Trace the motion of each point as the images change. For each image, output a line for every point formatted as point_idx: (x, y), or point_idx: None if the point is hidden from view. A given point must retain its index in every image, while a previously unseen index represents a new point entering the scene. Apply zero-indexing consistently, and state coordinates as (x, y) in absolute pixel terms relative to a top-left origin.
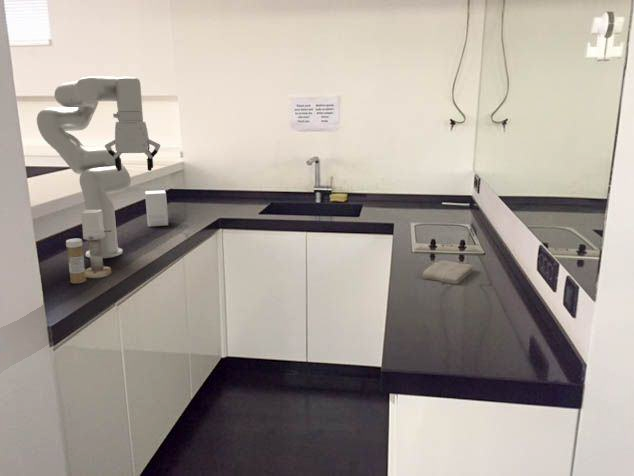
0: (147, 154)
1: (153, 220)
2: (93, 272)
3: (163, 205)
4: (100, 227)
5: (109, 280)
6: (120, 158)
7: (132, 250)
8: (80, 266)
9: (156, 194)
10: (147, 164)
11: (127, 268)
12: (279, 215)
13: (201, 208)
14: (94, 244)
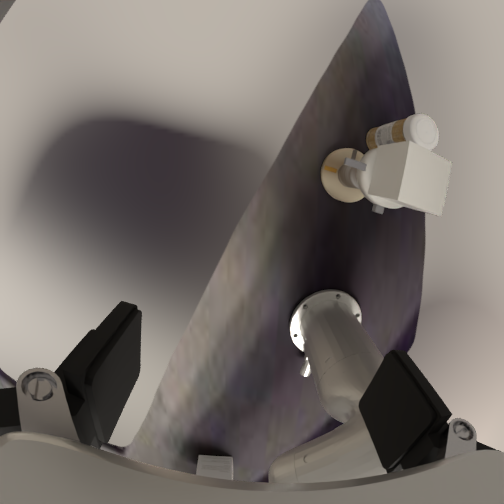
0: (55, 423)
1: (222, 463)
2: (356, 158)
3: None
4: (379, 157)
5: (323, 123)
6: (391, 464)
7: (267, 336)
8: (386, 124)
9: None
10: (117, 337)
11: (285, 197)
12: None
13: None
14: None
